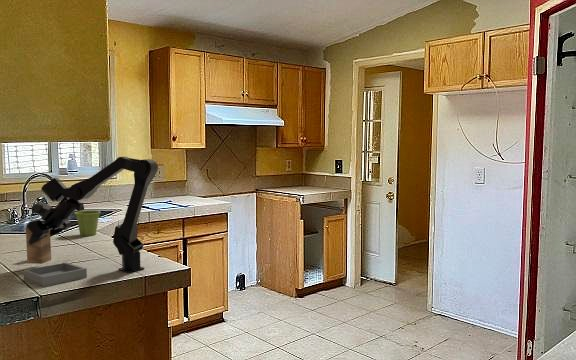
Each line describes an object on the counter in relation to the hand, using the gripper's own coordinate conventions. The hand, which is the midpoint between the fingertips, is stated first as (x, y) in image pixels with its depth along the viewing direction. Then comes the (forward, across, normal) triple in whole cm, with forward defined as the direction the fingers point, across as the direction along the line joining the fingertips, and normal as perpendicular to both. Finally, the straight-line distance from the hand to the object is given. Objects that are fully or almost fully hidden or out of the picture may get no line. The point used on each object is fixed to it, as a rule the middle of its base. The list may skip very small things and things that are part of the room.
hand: (34, 241), depth 174 cm
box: (-4, +13, +17) cm, 22 cm away
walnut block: (+4, 0, +6) cm, 7 cm away
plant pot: (+17, -64, -4) cm, 66 cm away
